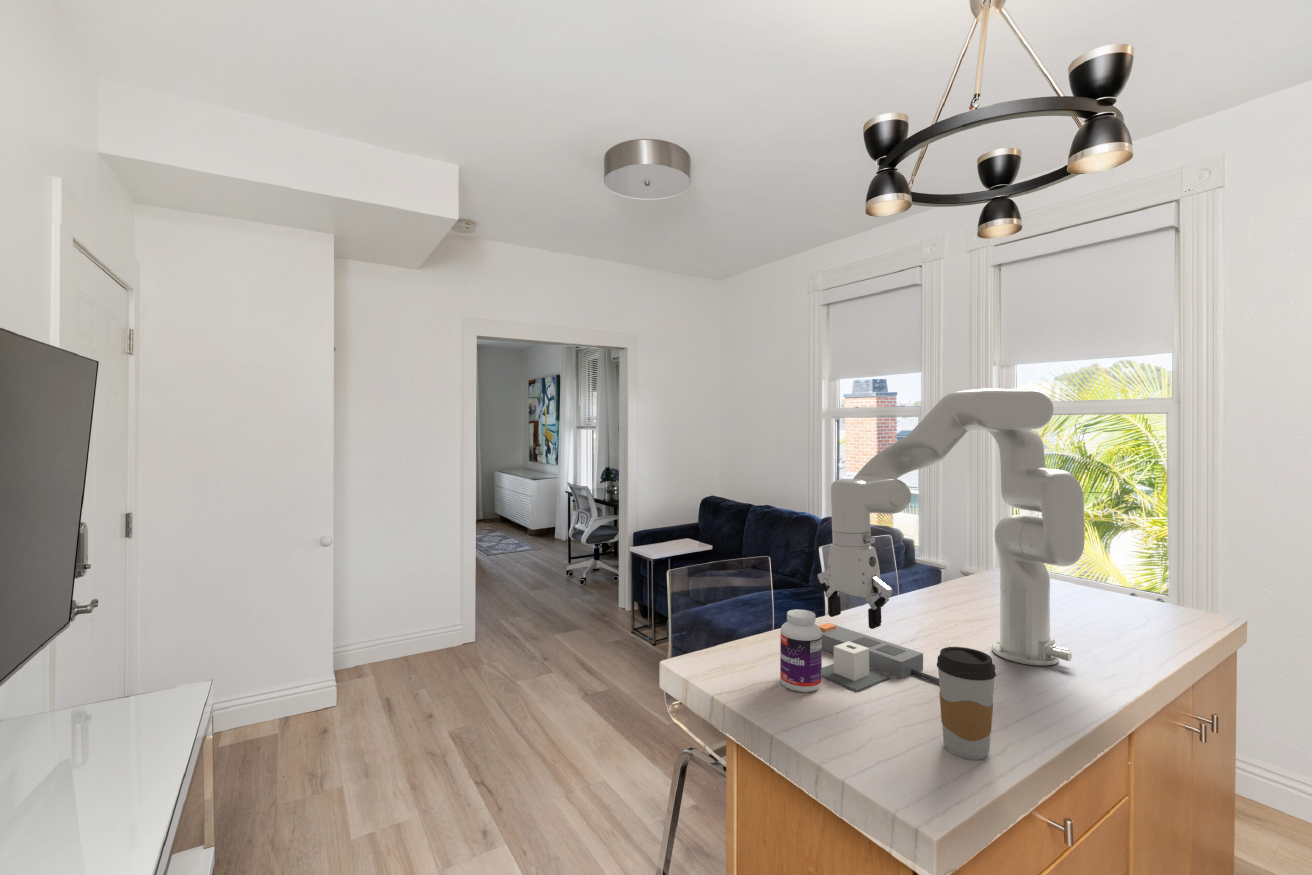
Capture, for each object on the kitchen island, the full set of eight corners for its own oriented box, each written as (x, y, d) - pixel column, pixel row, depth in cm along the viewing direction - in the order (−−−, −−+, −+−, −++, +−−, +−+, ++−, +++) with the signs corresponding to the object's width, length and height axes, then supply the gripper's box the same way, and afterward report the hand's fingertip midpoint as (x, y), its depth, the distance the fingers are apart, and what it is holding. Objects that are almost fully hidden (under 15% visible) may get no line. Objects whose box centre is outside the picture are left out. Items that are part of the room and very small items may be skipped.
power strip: (981, 689, 113) (981, 668, 112) (960, 700, 108) (960, 678, 108) (830, 637, 142) (830, 620, 142) (808, 644, 137) (808, 626, 137)
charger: (869, 674, 119) (869, 647, 119) (854, 680, 116) (854, 652, 116) (848, 666, 123) (848, 640, 123) (833, 672, 120) (833, 645, 120)
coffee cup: (989, 740, 94) (989, 648, 94) (1002, 768, 86) (1002, 668, 86) (933, 732, 97) (933, 643, 97) (940, 758, 89) (940, 661, 89)
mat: (890, 678, 118) (890, 676, 118) (857, 692, 112) (857, 690, 112) (845, 661, 127) (845, 659, 127) (812, 673, 121) (812, 671, 121)
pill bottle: (771, 683, 116) (771, 612, 116) (797, 673, 121) (797, 604, 121) (804, 698, 109) (804, 622, 109) (830, 686, 114) (830, 614, 114)
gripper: (900, 542, 114) (903, 627, 115) (828, 531, 129) (831, 607, 129) (877, 547, 110) (880, 636, 110) (806, 536, 124) (809, 615, 125)
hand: (854, 621), depth 120 cm, fingers open, 9 cm apart
